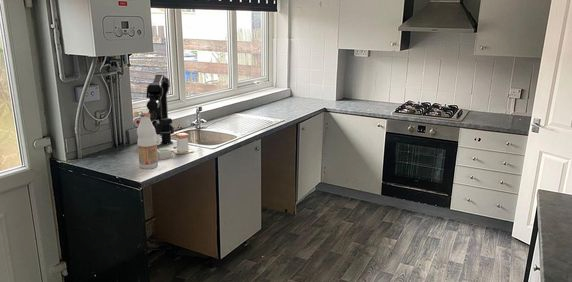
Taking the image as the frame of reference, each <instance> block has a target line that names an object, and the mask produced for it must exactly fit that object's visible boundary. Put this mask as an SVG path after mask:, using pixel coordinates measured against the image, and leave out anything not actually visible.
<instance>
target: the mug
mask: <svg viewBox="0 0 572 282" xmlns="http://www.w3.org/2000/svg"><path fill="white" fill-rule="evenodd" d="M160 136H161V134H159V135H157V134H156V132H155V137H156V141H157V146H159V145H161V141H162V140H161V137H160Z"/></svg>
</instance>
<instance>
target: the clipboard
mask: <svg viewBox="0 0 572 282" xmlns="http://www.w3.org/2000/svg"><path fill="white" fill-rule="evenodd" d="M169 149H170V150H172V154H173V153H174V154H175V155H177V156H179V155H185V154H191V153H195V151H194V150H192V149H191V148H189V151H186V152H179V151H177V145H176V146H173V148H169Z"/></svg>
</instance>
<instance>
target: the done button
mask: <svg viewBox="0 0 572 282" xmlns="http://www.w3.org/2000/svg"><path fill="white" fill-rule="evenodd" d="M167 148H168V147H164V148H163V147H162V149H161V148H158V149H159V151H160V152H163V151H169V150H168V149H167Z"/></svg>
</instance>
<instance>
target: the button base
mask: <svg viewBox="0 0 572 282" xmlns="http://www.w3.org/2000/svg"><path fill="white" fill-rule="evenodd" d="M162 148H163V147H162ZM162 148H157V156H158V159H159V160H164V159H165V160H166V159H171V158H173V152H172V150H170V149H171V148H169V147H166V148H167V149H168V150H169V151H163V152H160V151H159V149H162Z"/></svg>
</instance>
